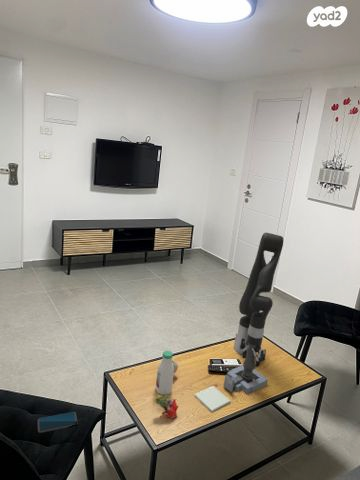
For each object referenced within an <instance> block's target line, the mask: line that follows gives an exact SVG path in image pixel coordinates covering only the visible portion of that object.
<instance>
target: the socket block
mask: <svg viewBox="0 0 360 480" xmlns="http://www.w3.org/2000/svg"><path fill="white" fill-rule="evenodd" d="M243 370H244V366H243V364H241V365H239V366H237V367H235V368H233V369H230V371H228V372H227V373H226V375H227V376H229V377H230V378H231V379H232V378H234V377H237V376H241V373H242V371H243ZM252 372H253V381H252V382H250V383H246V382H245V381H242V382H240V383H239V384H237V385H235V386H234V391H236V392H238V391H240V390H241V391H243V392H244V393H245V395H246V394H250V393H253V392H255V391H258V389H259V390H260V389H261V388H262V387H264V386H266V385H268V382H269V379H268V378H267V377H266V376H264V374H261V373H260V372H259V371H257V370H256V368H255V369H254V370H253V371H252Z"/></svg>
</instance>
